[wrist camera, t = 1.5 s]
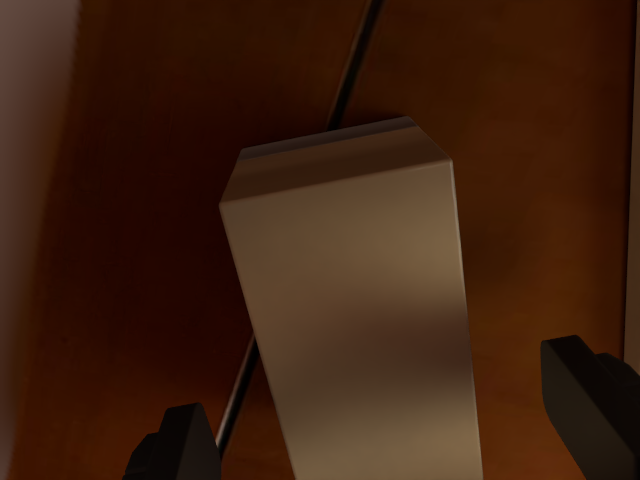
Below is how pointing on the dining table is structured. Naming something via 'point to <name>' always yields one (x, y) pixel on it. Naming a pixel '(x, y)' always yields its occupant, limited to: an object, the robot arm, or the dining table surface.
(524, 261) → the dining table surface
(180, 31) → the dining table surface
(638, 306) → the slate board
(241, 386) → the dining table surface
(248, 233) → the eraser
